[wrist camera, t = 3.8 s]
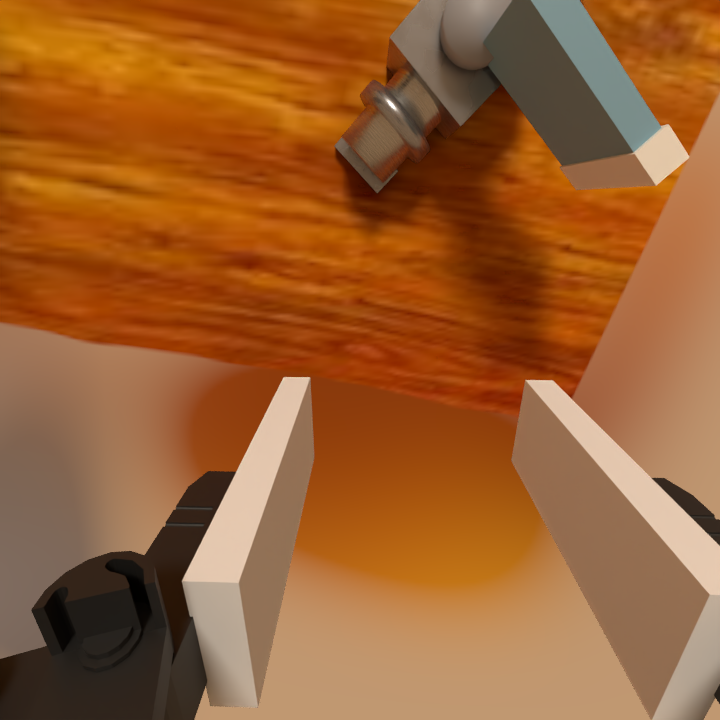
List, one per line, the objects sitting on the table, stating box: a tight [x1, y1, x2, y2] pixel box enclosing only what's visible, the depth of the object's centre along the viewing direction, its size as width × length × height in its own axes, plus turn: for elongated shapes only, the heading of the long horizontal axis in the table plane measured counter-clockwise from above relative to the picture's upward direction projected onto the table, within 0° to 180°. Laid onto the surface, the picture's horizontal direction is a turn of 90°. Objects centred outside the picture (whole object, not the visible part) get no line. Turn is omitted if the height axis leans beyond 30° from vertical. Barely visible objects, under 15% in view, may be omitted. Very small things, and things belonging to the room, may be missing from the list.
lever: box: [440, 0, 689, 190], centre depth 22 cm, size 14×4×8 cm, turn 45°
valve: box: [335, 0, 501, 193], centre depth 28 cm, size 22×7×7 cm, turn 135°
